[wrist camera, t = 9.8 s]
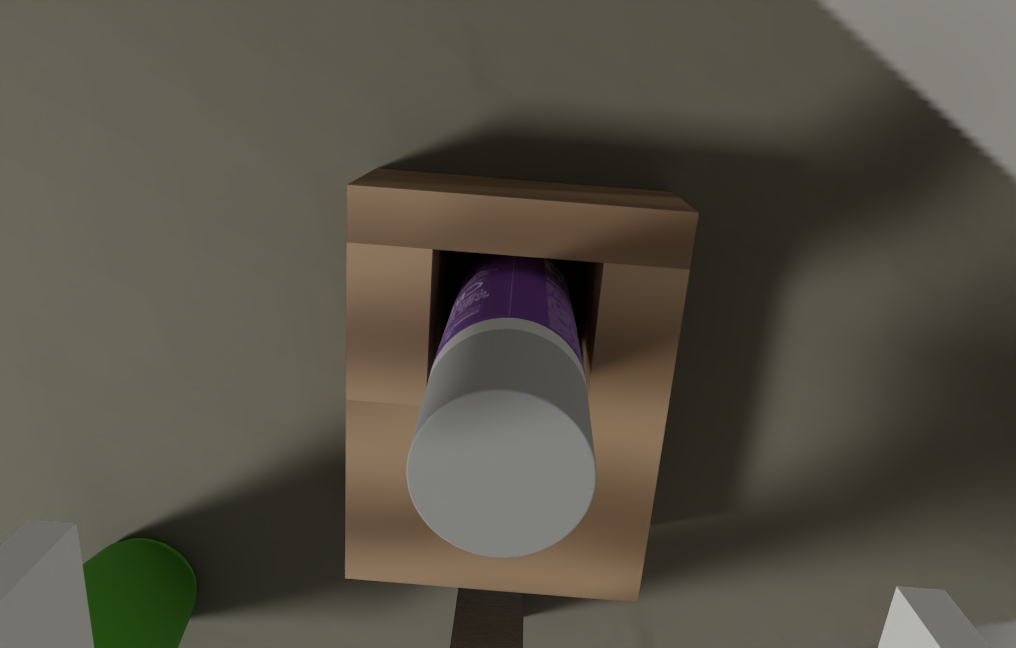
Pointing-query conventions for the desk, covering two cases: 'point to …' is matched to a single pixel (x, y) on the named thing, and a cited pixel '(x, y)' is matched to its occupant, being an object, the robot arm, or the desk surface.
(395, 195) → the socket block
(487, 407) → the container
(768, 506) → the desk surface
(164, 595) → the cup
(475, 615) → the grey flat-topped post
